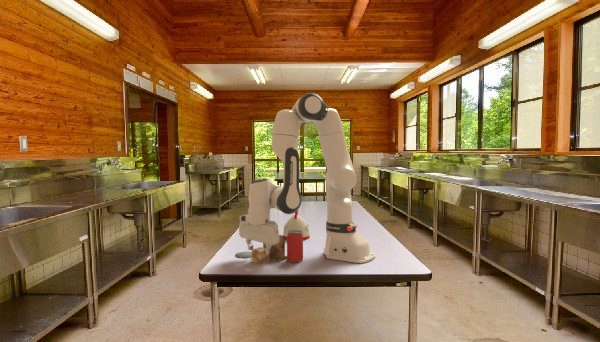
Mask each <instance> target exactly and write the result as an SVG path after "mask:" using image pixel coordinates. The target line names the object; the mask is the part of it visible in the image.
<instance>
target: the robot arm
mask: <svg viewBox="0 0 600 342" xmlns="http://www.w3.org/2000/svg"><path fill="white" fill-rule="evenodd" d="M309 123H313V124H314V126H315V127H316V130H317V133H318V139H319V144H320V150H321V154H322V157H323V160H324V163H325V167H326V171H325V177H324V178H325V193H326V194H325V195H326V205H327V206H326V207H327V208H326V222H325V230H326V236H325V237H326V239H325V243H324V248H323V252H322V253H323V255H325V258H326V259H329V260H336V261H342V262H349V263H356V264H365V263H367V262H371V261H373V259H375V258H376V254H375V253H374V252H371V250H370V248H371V247H370V244H369V241H368V240H367V239H365V238H364V236H362V235H361V234H360V233H359V232H357V228H359V227H358V226H359V225H358V224H355V223H354V222H353V211H354V210H353V207H354V205H353V200H352V199H353V198H352V192H351V190H352V189H353V188H355V186H356V183H357V175H356V171H355V169H354V165H353V161H352V158H351V156H350V153H349V149H348V145H347V144H348V143H347V141H346V140H347V139H346V135H345V129H344V126H343V122H342V120H341V117H340V114H339V112H338V111H337V109H335V108H331V107H328V105H327V104H326V103H325V102H324V100H323V98H322V97H321V96H320V95H319V94H317V93H314V92H311V93H310V92H308V93H305V94H303V95H302V96H301V97H299V98H298V99H297V100H296V102H295V103H294V104H293V105H292V107H291V108H290V109H286V108H285V109H281V110H279V111H277V113H276V115H275V118H274V122H273V126H272V127H273V128H272V133H271V149H272V153H274V155H276V156H277V157H278V158H279V159H280V161H281V163H282V165H283V182H282V183H283V186H281V185H278V184H276V183H275V182H272V181H271V180H270V179H268V178H263V177H262V178H257V179H253V180H252V181H251V182H250V183H249V189H248V204H249V206H248V211H247V212H248V213H247V214H242V215H240V216H239V221H240V222H239V227H238V235H239V237H240V238H242V239H245V242H246V245H247V250H249V251H252V249H254V245H253V243H252V241H253V242H258V243H262V244H263V243H265V244H266V246H267V248H266V250H264V254H266V255H268V254H269V253H270V249H271V247H272V245H276V244H278V243H279V235H280V232H279V225H278V223H277V222H276V221H275V220H271V210H272V209H275V210H277V211H281V212H282V213H283V214H286V215H292V214H295V212H296V211H297V210H298V211H299V209H300V208H301V205H302V201H303V199H302V194H301V190H300V155H299V149H298V148H299V145H298V144H299V132H300V128H301V126H302V125H306V124H309ZM370 260H371V261H370Z"/></svg>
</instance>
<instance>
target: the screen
mask: <svg viewBox="0 0 600 342" xmlns="http://www.w3.org/2000/svg"><path fill="white" fill-rule="evenodd" d="M285 240H286V239H285V236H283V234H279V243H278V244H276V245H272V247H271V249H270V253H269V258H271V259H275V261H277V262H282V261H284V260H287V255H286V241H285ZM262 248H267V246H266V244H265V243H262Z"/></svg>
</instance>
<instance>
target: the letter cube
mask: <svg viewBox="0 0 600 342" xmlns="http://www.w3.org/2000/svg"><path fill="white" fill-rule="evenodd" d="M264 250H266V248H263V246H262V247H261V246H259V247H256V248H253V249H252V250H251V252H252V257H251V262H252V263H255V264H260V265H263V264H265V263H267V262H269V261H270V257H269V254H268V255H266V254H264Z"/></svg>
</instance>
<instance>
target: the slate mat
mask: <svg viewBox="0 0 600 342" xmlns="http://www.w3.org/2000/svg"><path fill="white" fill-rule="evenodd" d="M234 257H235V258H238V259H249V258H250V259H252V251H240V252H237V253H235V255H234Z"/></svg>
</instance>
